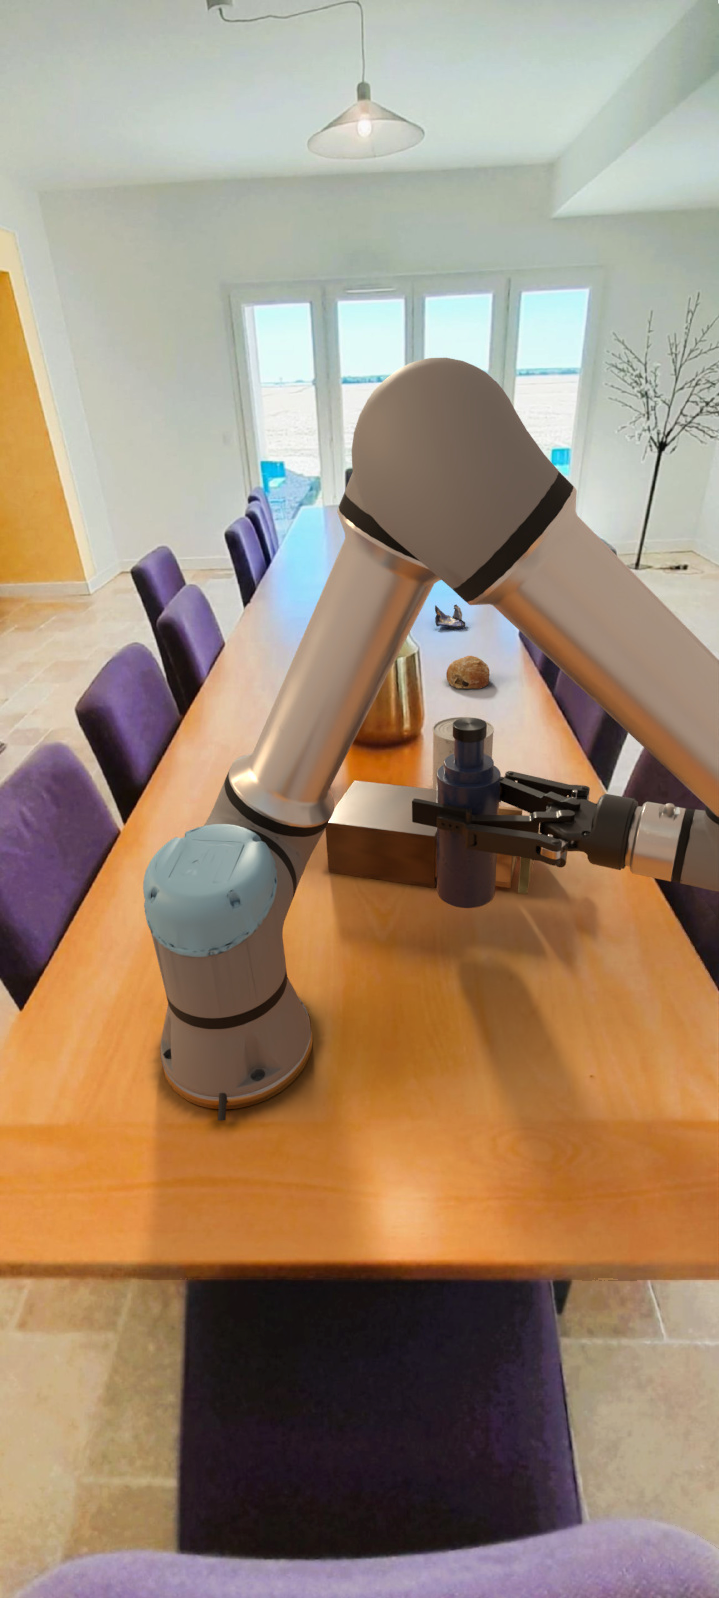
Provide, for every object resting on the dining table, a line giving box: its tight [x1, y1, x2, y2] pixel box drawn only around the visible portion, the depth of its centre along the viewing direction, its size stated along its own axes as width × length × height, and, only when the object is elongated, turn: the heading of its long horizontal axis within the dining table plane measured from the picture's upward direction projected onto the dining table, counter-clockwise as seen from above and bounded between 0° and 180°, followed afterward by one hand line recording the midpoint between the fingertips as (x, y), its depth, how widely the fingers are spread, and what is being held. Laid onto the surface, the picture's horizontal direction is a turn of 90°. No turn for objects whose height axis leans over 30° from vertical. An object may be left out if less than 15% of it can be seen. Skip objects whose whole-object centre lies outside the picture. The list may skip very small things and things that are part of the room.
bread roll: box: [445, 655, 490, 690], centre depth 165 cm, size 10×10×8 cm
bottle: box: [436, 717, 502, 909], centre depth 82 cm, size 7×7×22 cm
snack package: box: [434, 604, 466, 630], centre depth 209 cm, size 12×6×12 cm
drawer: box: [435, 805, 569, 895], centre depth 98 cm, size 19×12×7 cm, turn 72°
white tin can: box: [432, 716, 495, 789], centre depth 116 cm, size 10×10×12 cm
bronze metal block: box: [324, 780, 437, 889], centre depth 102 cm, size 15×13×8 cm
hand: (427, 795), depth 84 cm, fingers closed on bottle, 7 cm apart
